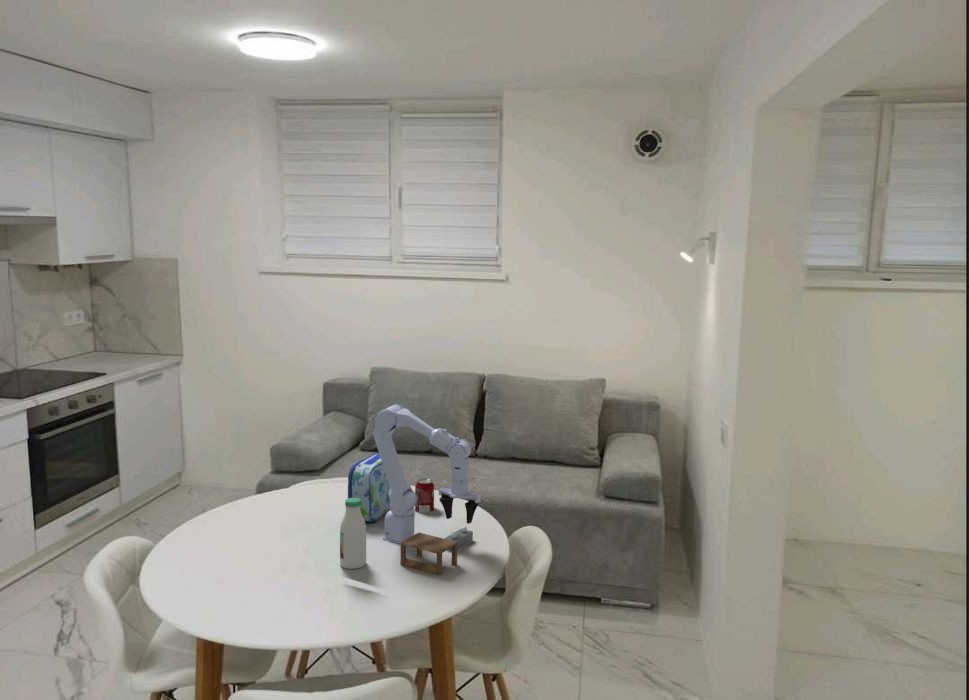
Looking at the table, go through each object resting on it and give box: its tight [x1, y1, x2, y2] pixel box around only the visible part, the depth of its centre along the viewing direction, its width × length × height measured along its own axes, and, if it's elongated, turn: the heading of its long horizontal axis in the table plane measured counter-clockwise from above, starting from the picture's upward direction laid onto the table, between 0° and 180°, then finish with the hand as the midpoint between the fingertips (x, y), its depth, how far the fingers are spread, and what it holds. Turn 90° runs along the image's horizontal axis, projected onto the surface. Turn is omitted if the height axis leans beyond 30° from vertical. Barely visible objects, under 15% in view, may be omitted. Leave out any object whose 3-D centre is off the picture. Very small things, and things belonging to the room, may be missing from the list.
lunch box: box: [347, 452, 390, 523], centre depth 265 cm, size 26×11×21 cm, turn 164°
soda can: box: [414, 478, 435, 514], centre depth 267 cm, size 7×7×12 cm
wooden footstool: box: [400, 532, 458, 577], centre depth 223 cm, size 14×10×7 cm
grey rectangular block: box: [443, 525, 474, 552], centre depth 238 cm, size 4×10×6 cm, turn 150°
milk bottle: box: [339, 497, 367, 570], centre depth 221 cm, size 8×8×20 cm
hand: (459, 520), depth 237 cm, fingers open, 7 cm apart
